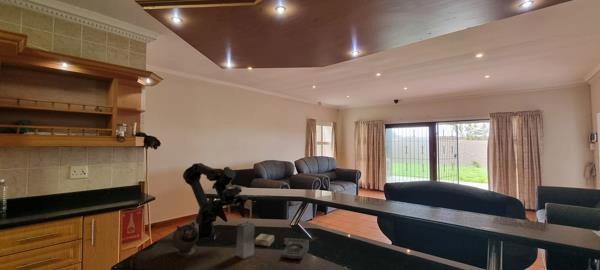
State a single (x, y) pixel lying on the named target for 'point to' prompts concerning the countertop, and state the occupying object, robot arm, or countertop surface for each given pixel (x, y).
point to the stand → (264, 239)
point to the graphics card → (295, 248)
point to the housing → (245, 240)
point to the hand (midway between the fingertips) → (235, 219)
